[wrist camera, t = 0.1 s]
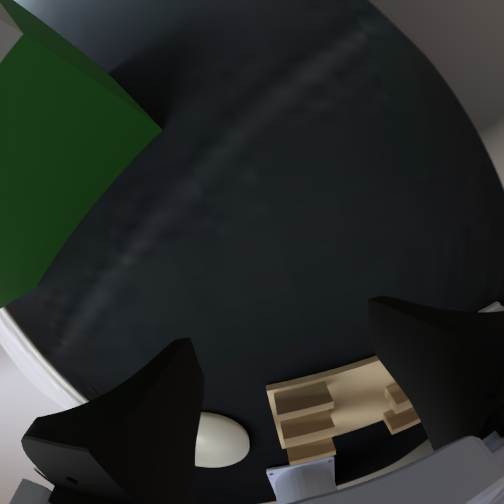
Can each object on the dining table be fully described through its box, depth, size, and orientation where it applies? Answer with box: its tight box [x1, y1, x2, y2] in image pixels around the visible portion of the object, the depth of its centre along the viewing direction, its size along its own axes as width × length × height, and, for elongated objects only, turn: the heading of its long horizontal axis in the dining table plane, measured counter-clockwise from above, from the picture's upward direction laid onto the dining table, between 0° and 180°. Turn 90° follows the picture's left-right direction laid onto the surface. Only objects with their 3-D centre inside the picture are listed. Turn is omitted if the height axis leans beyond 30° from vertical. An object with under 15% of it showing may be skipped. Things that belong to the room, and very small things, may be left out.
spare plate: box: [195, 412, 249, 467], centre depth 24 cm, size 9×9×1 cm
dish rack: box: [266, 355, 421, 466], centre depth 22 cm, size 9×16×4 cm, turn 102°
